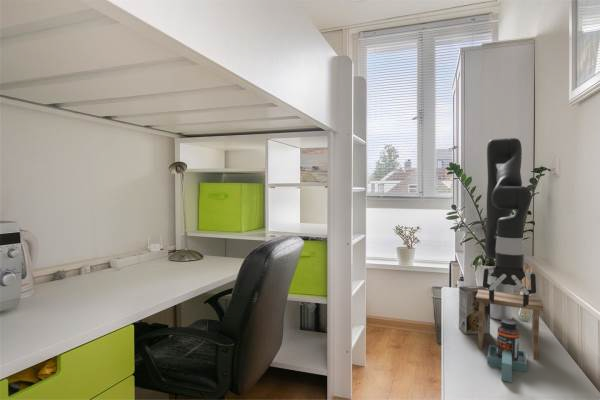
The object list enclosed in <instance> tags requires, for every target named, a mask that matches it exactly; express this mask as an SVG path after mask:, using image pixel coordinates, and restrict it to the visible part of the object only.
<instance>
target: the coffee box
mask: <svg viewBox="0 0 600 400" xmlns="http://www.w3.org/2000/svg"><path fill="white" fill-rule="evenodd" d="M458 288H459V291H458V293H459V295H458V296H459V297H458V299H459V302H458V306H459V307H458V329H459V330H461V331H462V332H463V333H464V334H465V335H473V334H474V335H477V334H478V322H479V302H476V295H477V292H478V290H486V291H489V290H488V289H487V288H484V287H483V285H478V286H477V285H474V286H472V285H470V286H467V285H466V286H464V285H463V286H459V287H458ZM485 334H488V335H489V334H491V317H490V304H488V303H485V313H484V335H485Z"/></svg>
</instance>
